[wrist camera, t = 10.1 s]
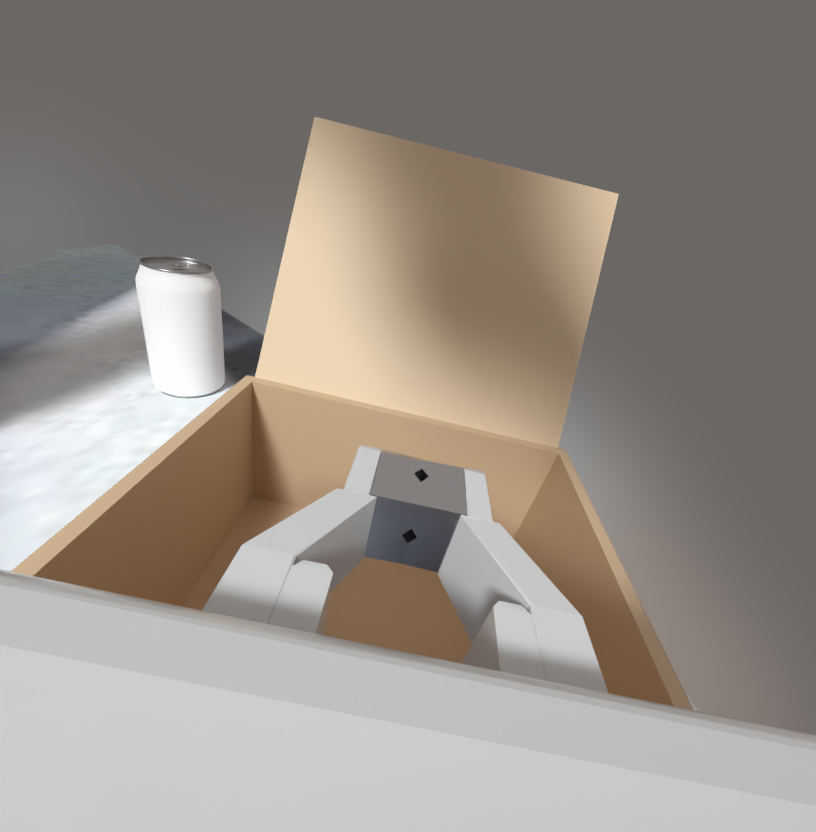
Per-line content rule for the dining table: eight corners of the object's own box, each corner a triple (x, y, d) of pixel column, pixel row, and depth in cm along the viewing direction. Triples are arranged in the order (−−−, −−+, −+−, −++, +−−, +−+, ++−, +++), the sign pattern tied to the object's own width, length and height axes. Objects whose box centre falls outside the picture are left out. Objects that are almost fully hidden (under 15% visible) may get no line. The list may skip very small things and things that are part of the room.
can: (216, 367, 41) (208, 257, 35) (233, 394, 38) (228, 275, 31) (148, 373, 38) (126, 250, 31) (159, 404, 34) (137, 270, 28)
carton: (571, 908, 13) (761, 848, 8) (37, 801, 13) (-105, 667, 8) (508, 553, 27) (565, 450, 22) (249, 495, 27) (246, 375, 22)
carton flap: (618, 194, 22) (614, 197, 22) (314, 116, 21) (316, 122, 22) (558, 448, 22) (555, 447, 23) (254, 377, 22) (257, 377, 22)
